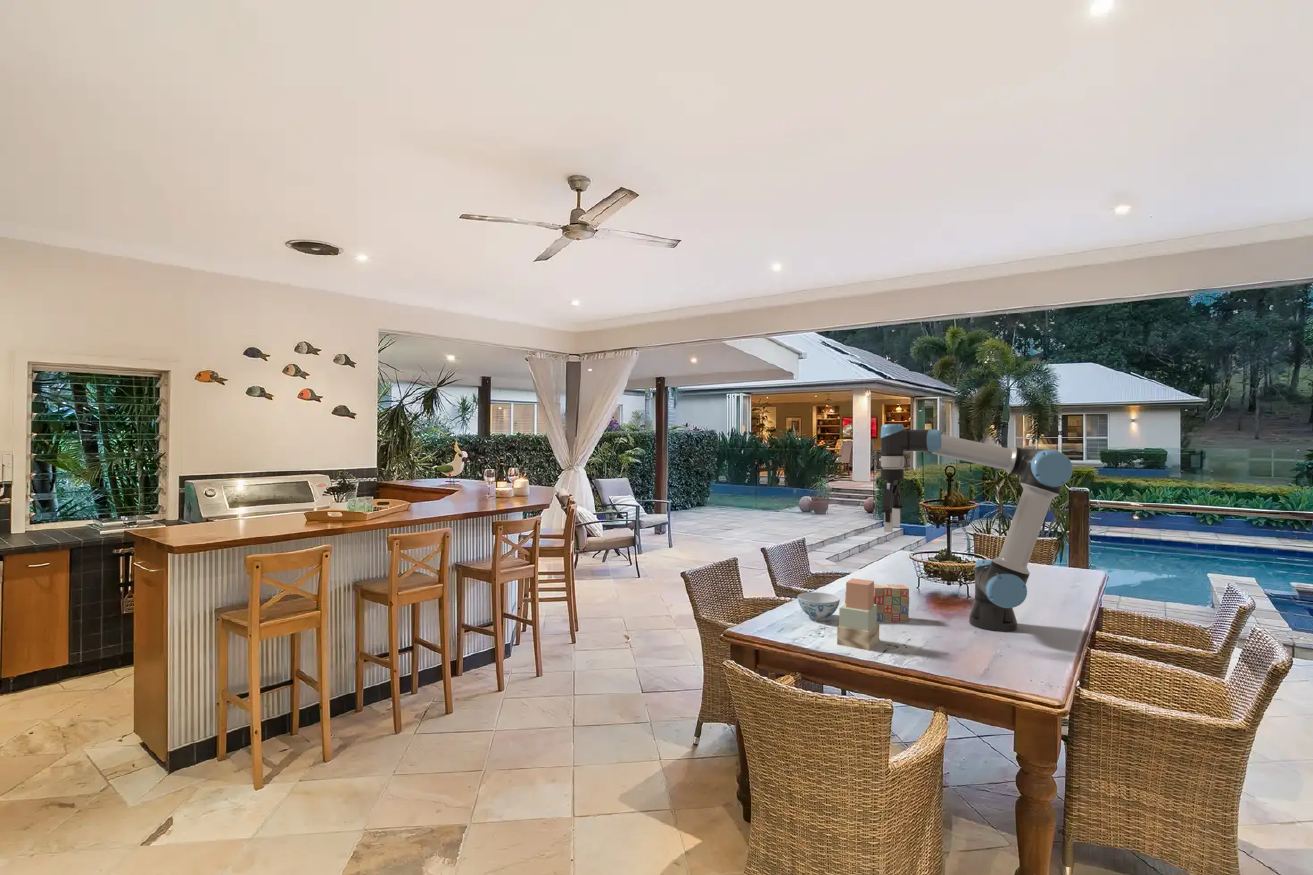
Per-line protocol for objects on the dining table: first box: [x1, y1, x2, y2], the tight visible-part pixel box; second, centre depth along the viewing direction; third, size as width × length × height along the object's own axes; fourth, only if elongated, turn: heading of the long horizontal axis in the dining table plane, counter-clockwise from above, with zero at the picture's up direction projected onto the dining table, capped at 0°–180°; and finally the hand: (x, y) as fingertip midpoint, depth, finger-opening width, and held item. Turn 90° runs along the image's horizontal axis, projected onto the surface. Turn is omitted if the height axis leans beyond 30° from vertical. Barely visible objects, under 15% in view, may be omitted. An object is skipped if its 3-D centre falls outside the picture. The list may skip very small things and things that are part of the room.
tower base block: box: [836, 621, 880, 651], centre depth 213 cm, size 10×12×6 cm
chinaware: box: [797, 591, 841, 622], centre depth 240 cm, size 15×15×8 cm
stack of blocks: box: [844, 583, 910, 623], centre depth 240 cm, size 21×6×12 cm, turn 88°
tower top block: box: [838, 602, 877, 631], centre depth 213 cm, size 9×11×6 cm
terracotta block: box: [845, 578, 875, 610], centre depth 213 cm, size 7×7×8 cm
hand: (892, 529), depth 229 cm, fingers open, 13 cm apart
